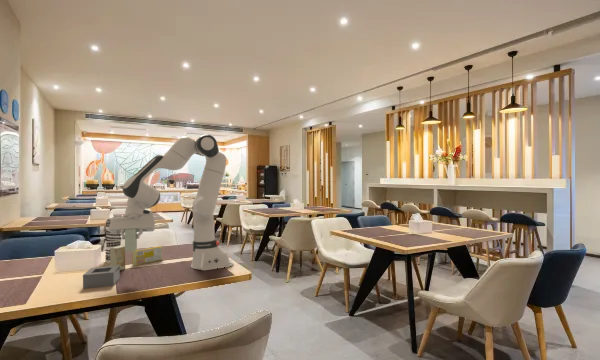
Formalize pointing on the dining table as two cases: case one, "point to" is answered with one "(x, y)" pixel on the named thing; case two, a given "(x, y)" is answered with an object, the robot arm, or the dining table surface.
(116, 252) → the skincare box
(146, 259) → the candy box
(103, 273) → the block
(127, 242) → the sage post
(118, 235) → the decorative candle
